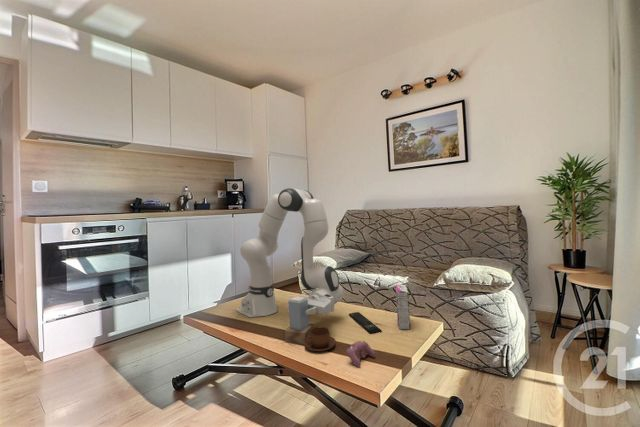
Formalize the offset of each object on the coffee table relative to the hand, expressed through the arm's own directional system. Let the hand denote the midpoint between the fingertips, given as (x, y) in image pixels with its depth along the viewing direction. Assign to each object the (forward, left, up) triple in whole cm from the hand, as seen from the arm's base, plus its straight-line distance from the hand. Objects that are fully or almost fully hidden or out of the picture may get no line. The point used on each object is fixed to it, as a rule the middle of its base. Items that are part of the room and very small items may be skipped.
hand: (297, 310), depth 125 cm
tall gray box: (0, +1, -7) cm, 7 cm away
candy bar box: (+30, +35, -12) cm, 48 cm away
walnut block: (0, +1, -12) cm, 12 cm away
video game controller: (+29, -1, -12) cm, 32 cm away
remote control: (+14, +28, -13) cm, 34 cm away
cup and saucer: (+11, 0, -12) cm, 17 cm away
